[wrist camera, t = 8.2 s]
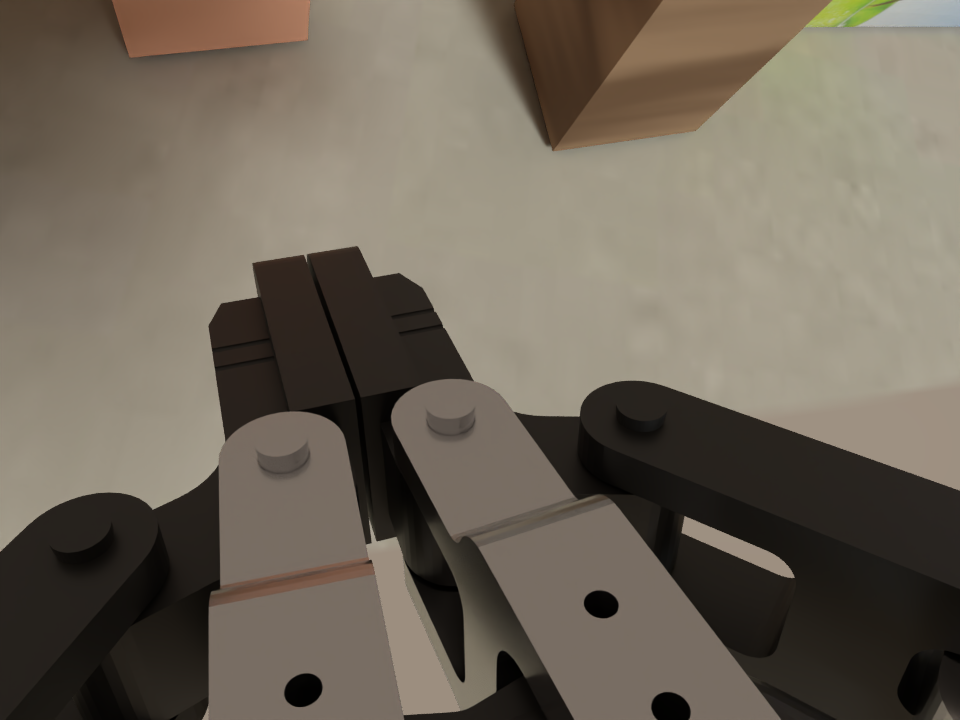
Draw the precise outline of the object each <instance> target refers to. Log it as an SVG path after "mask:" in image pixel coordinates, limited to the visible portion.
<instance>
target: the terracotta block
mask: <svg viewBox="0 0 960 720" xmlns="http://www.w3.org/2000/svg"><path fill="white" fill-rule="evenodd" d="M112 2H113V6H114V9H115V12H116V15H117V18H118V22H119V25H120V28H121V31H122V35H123V38H124V41H125V44H126V48H127V51H128V54H129V57H130V58H132V57H142V56H152V55H162V54H172V53H182V52H193V51H203V50H213V49H223V48H233V47H243V46H253V45H264V44H274V43H284V42H294V41H304V40H308V25H309V9H310V0H112Z"/></svg>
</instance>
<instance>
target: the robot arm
mask: <svg viewBox="0 0 960 720" xmlns="http://www.w3.org/2000/svg"><path fill="white" fill-rule="evenodd" d="M252 264H253V271H254V277H255V283H256V288H257V294H258V297H257V298H251V299H245V300H239V301H233V302H228V303H222V304H221V305H220V307H219V308H218V310H217V312H216V314H215V315H214V317H213V319H212V321H211V322H210V324H209V333H210V339H211V346H212V352H213V360H214V366H215V371H216V372H215V373H216V380H217V387H218V393H219V400H220V407H221V414H222V420H223V427H224V434H225V444H224V445H223V447H222V449H221V452H220V455H219V465H218V467H217V468H216V469H215V471H214V472H213V473H212V474H211V475H210V476H209V477H208V478H207V479H206V480H205V481H204V482H203V483H201V484H200V485H199V486H198V487H196V488H195V489H193V490H192V491H190V492H189V493H187V494H185V495H183V496H181V497H179V498H177V499H175V500H173V501H171V502H169V503H166V504H164V505H162V506H160V507H158V508H156V509H154V510H152V508H151V507H150V506H149V505H148V504H147V503H145V502H144V501H142V500H140V499H139V498H136V497H134V496H131V495H127V494H122V493H96V494H91V495H85V496H81V497H78V498H75V499H71V500H69V501H66V502H64V503H62V504H59V505H57V506H55V507H54V508H52V509H50V510H48V511H46V512H45V513H43V514H42V515H40V516H39V517H38V518H36V519H35V520H34V521H33V522H32V523H30V524H29V525H28V526H27V527H26V528H25V529H24V530H23V531H22V532H21V533H20V534H19V535H18V536H16V537H15V538H14V539H13V540H12V541H11V542H10V543H9V544H8V545H7V546H6V547H5V548H4V549H3V550H2V551H1V552H0V720H202V719H203V717H204V715H205V713H206V710H207V707H208V704H209V720H960V491H959V490H956V489H953V488H951V487H948V486H945V485H942V484H939V483H936V482H934V481H931V480H928V479H925V478H922V477H919V476H917V475H914V474H911V473H908V472H905V471H903V470H900V469H897V468H894V467H891V466H888V465H886V464H883V463H880V462H877V461H874V460H871V459H869V458H866V457H863V456H860V455H857V454H855V453H852V452H849V451H846V450H843V449H840V448H837V447H835V446H832V445H829V444H826V443H823V442H821V441H818V440H815V439H812V438H809V437H806V436H803V435H801V434H798V433H795V432H792V431H790V430H787V429H784V428H781V427H778V426H775V425H772V424H770V423H767V422H764V421H761V420H758V419H756V418H753V417H750V416H747V415H744V414H742V413H739V412H736V411H733V410H730V409H727V408H725V407H722V406H719V405H716V404H713V403H710V402H708V401H705V400H702V399H699V398H696V397H694V396H691V395H688V394H685V393H682V392H679V391H677V390H674V389H671V388H668V387H665V386H662V385H659V384H655V383H650V382H645V381H621V382H615V383H611V384H607V385H604V386H602V387H599V388H598V389H596V390H594V391H593V392H592V393H590V394H589V395H588V396H587V397H586V399H585V400H584V401H583V403H582V406H581V411H580V417H564V416H532V415H526V414H520V413H517V412H513V411H512V409H511V408H510V406H509V405H508V404H507V402H506V401H505V400H504V398H503V397H502V396H501V395H500V394H499V393H497V392H496V391H495V390H493V389H491V388H490V387H488V386H486V385H483V384H480V383H478V382H474V380H473V379H472V377H471V375H470V373H469V371H468V370H467V368H466V366H465V364H464V362H463V360H462V359H461V357H460V355H459V353H458V351H457V350H456V348H455V346H454V344H453V342H452V341H451V339H450V337H449V335H448V333H447V331H446V330H445V328H443V325H442V322H441V321H440V319H439V317H438V315H437V313H436V312H434V308H433V306H432V304H431V302H430V301H429V299H428V297H427V295H426V293H425V291H424V290H423V288H422V287H420V286H418V285H417V284H415V283H414V282H412V281H411V280H409V279H408V278H406V277H404V276H403V275H401V274H400V273H397V274H391V275H386V276H380V277H374V278H373V277H372V275H371V273H370V271H369V268H368V266H367V264H366V262H365V260H364V258H363V256H362V253H361V251H360V249H359V248H358V246H355V247H349V248H343V249H336V250H330V251H324V252H318V253H311V254H307V262H306V259H305V257H304V255H300V256H293V257H287V258H281V259H275V260H268V261H262V262H256V263H252ZM684 516H686V517H688V518H691V519H693V520H696V521H698V522H700V523H703V524H705V525H707V526H710V527H712V528H715V529H717V530H719V531H722V532H724V533H726V534H729V535H731V536H733V537H736V538H738V539H741V540H743V541H745V542H748V543H750V544H753V545H755V546H757V547H760V548H762V549H764V550H767V551H769V552H771V553H773V554H775V555H776V556H778V557H779V558H780V559H782V560H783V561H784V562H785V563H786V564H787V565H788V566H789V568H790V569H791V570H792V572H793V574H794V577H795V578H787V577H783V576H780V575H777V574H775V573H773V572H770V571H768V570H766V569H763V568H761V567H759V566H756V565H754V564H752V563H749V562H747V561H745V560H743V559H740V558H738V557H735V556H733V555H731V554H729V553H726V552H724V551H722V550H719V549H717V548H715V547H712V546H710V545H708V544H706V543H703V542H701V541H699V540H696V539H694V538H692V537H689V536H687V535H685V534H682V533H681V532H682V527H683V521H684ZM369 519H370V522H371V525H372V528H373V532H374V535H375V538H376V541H381V540H385V539H389V538H393V537H397V539H398V542H399V545H400V548H401V551H402V553H403V562H404V574H405V583H406V587H407V590H408V592H409V594H410V597H411V599H412V601H413V603H414V606H415V608H416V610H417V612H418V615H419V617H420V619H421V621H422V624H423V626H424V628H425V630H426V632H427V635H428V637H429V639H430V642H431V644H432V646H433V648H434V651H435V653H436V655H437V657H438V660H439V662H440V664H441V666H442V669H443V671H444V673H445V675H446V677H447V680H448V682H449V684H450V686H451V689H452V691H453V693H454V696H455V698H456V700H457V703H458V705H459V708H460V711H458V712H450V713H433V714H417V715H403V711H402V706H401V701H400V696H399V692H398V686H397V681H396V676H395V671H394V666H393V661H392V656H391V651H390V647H389V641H388V636H387V631H386V626H385V621H384V616H383V611H382V606H381V602H380V596H379V591H378V586H377V582H376V576H375V572H374V567H373V563H372V560H369V558H368V553H367V548H366V544H370V543H372V542H371V534H370V525H369Z"/></svg>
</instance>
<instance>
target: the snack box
mask: <svg viewBox="0 0 960 720" xmlns="http://www.w3.org/2000/svg"><path fill="white" fill-rule="evenodd" d="M896 26H900V27H960V0H832V1H831V2H830V3H829V4H828V5H827V6H826V7H825V8H824V9H823V10H822V11H821V12H820V13H819V14H818V15H817V16H816V17H815V18H813V19H812V20H811V21H810V22H809V23H808V24H807V25H806V26H805V27H896Z"/></svg>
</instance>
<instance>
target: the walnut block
mask: <svg viewBox="0 0 960 720" xmlns="http://www.w3.org/2000/svg"><path fill="white" fill-rule="evenodd" d="M831 1H832V0H516V1H515V3H514V7H515V11H516V14H517V18H518V22H519V26H520V29H521V33H522V37H523V41H524V45H525V48H526V52H527V56H528V60H529V63H530V67H531V71H532V75H533V79H534V82H535V86H536V90H537V94H538V97H539V101H540V105H541V109H542V113H543V116H544V120H545V124H546V128H547V131H548V135H549V139H550V143H551V146H552V150H553V151H559V150H566V149H573V148H580V147H587V146H594V145H601V144H608V143H615V142H622V141H629V140H636V139H643V138H650V137H657V136H664V135H671V134H678V133H685V132H692V131H696V130H697V129H698V128H699V127H700V126H701V125H702V124H703V123H704V122H705V121H706V120H708V119H709V118H710V117H711V116H712V115H713V114H714V113H715V112H716V111H717V110H718V109H719V108H720V107H721V106H722V105H723V104H724V103H725V102H726V101H727V100H729V99H730V98H731V97H732V96H733V95H734V94H735V93H736V92H737V91H738V90H739V89H740V88H741V87H742V86H743V85H744V84H745V83H746V82H747V81H748V80H749V79H751V78H752V77H753V76H754V75H755V74H756V73H757V72H758V71H759V70H760V69H761V68H762V67H763V66H764V65H765V64H766V63H767V62H768V61H769V60H770V59H772V58H773V57H774V56H775V55H776V54H777V53H778V52H779V51H780V50H781V49H782V48H783V47H784V46H785V45H786V44H787V43H788V42H789V41H790V40H791V39H793V38H794V37H795V36H796V35H797V34H798V33H799V32H800V31H801V30H802V29H803V28H804V27H805V26H806V25H807V24H808V23H809V22H810V21H811V20H812V19H813V18H815V17H816V16H817V15H818V14H819V13H820V12H821V11H822V10H823V9H824V8H825V7H826V6H827V5H828V4H829V3H830V2H831Z"/></svg>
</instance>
